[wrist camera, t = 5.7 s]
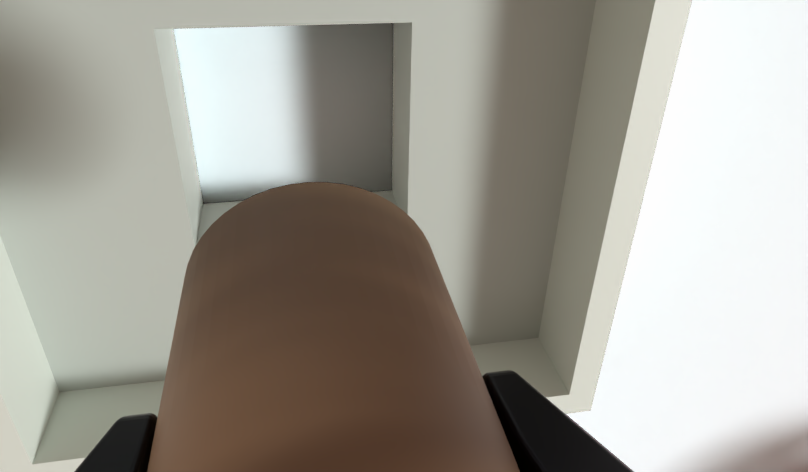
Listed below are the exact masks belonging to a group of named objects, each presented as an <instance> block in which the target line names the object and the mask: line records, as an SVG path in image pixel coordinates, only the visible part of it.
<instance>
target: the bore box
mask: <svg viewBox="0 0 808 472" xmlns="http://www.w3.org/2000/svg"><path fill="white" fill-rule="evenodd" d="M691 2H692V0H0V472H74V471H75V470H76V469H77V468H78V466H79V465H80V464H81V463H82V462H83V460H84V459H85V458H86V457H87V455H88V454H89V453H90V452H91V451H92V449H93V448H94V447H95V446H96V445H97V443H98V442H99V441H100V440H101V438H102V437H103V436H104V435H105V434H106V432H107V431H108V430H109V429H110V427H111V426H112V425H113V424H114V423H115V422H116V421H117V420H118V419H119V418H121V417H123V416H129V415H137V414H146V413H153V414H155V415H156V416H157V417H158V412H159V407H160V402H161V397H162V392H163V386H164V381H165V376H166V371H167V366H168V361H169V355H170V350H171V345H172V340H173V335H174V329H175V324H176V319H177V314H178V309H179V303H180V298H181V293H182V288H183V283H184V278H185V273H186V269H187V264H188V262H189V259H190V257H191V254H192V252H193V250H194V248H195V246H196V245H197V243H198V241H199V240H200V238H201V237H202V235H203V234H204V233H205V232H206V231H207V229H208V228H209V227H210V226H211V225H212V224H213V223H214V222H215V221H216V220H217V219H218V218H219V217H220V216H221V215H223V214H224V213H225V212H227V211H228V210H229V209H231V208H232V207H234V206H235V205H237V204H238V203H240V202H242V201H234V202H220V203H206V204H203V199H202V193H201V187H200V181H199V175H198V170H197V164H196V158H195V152H194V146H193V140H192V135H191V129H190V123H189V117H188V111H187V106H186V100H185V94H184V88H183V82H182V76H181V71H180V65H179V59H178V53H177V47H176V42H175V36H174V30H173V29H179V28H217V27H256V26H294V25H332V24H370V23H393V134H392V190H391V191H377V192H372V193H375V194H377V195H379V196H381V197H383V198H385V199H387V200H389V201H391V202H392V203H393V204H395V205H396V206H398V207H399V208H400V209H402V210H403V211H404V212H405V213H406V214H407V215H409V216H410V217H411V218H412V219H413V220H414V221H415V223H416V224H417V225H418V226H419V228H420V229H421V230H422V232H423V233H424V235H425V237H426V239H427V240H428V242H429V244H430V247H431V249H432V252H433V254H434V257H435V259H436V262H437V264H438V267H439V269H440V272H441V274H442V277H443V279H444V282H445V284H446V287H447V289H448V292H449V294H450V297H451V299H452V302H453V304H454V307H455V309H456V312H457V314H458V317H459V319H460V322H461V324H462V327H463V329H464V332H465V334H466V337H467V340H468V342H469V345H470V347H471V350H472V352H473V355H474V357H475V360H476V362H477V365H478V367H479V370H480V372H481V375H482V376H483V375H484V374H485V373H488V372H496V371H505V370H512V371H514V372H516V373H518V374H519V375H520V376H521V377H522V378H524V379H525V380H526V381H527V382H528V383H529V384H531V385H532V386H533V387H534V388H535V389H537V390H538V391H539V392H540V393H541V394H543V395H544V396H545V397H546V398H547V399H548V400H550V401H551V402H552V403H553V404H554V405H556V406H557V407H558V408H559V409H560V410H561V411H563V412H564V413H565V414H568V413H575V412H583V411H590V410H591V406H592V402H593V398H594V394H595V390H596V386H597V382H598V378H599V374H600V370H601V366H602V362H603V358H604V354H605V350H606V346H607V342H608V338H609V334H610V330H611V326H612V322H613V318H614V314H615V309H616V305H617V301H618V297H619V293H620V289H621V285H622V281H623V277H624V273H625V269H626V265H627V261H628V257H629V253H630V249H631V245H632V241H633V237H634V233H635V229H636V225H637V221H638V217H639V213H640V208H641V204H642V200H643V196H644V192H645V188H646V184H647V180H648V176H649V172H650V168H651V164H652V160H653V156H654V152H655V148H656V144H657V140H658V136H659V132H660V128H661V124H662V120H663V116H664V111H665V107H666V103H667V99H668V95H669V91H670V87H671V83H672V79H673V75H674V71H675V67H676V63H677V59H678V55H679V51H680V47H681V43H682V39H683V35H684V31H685V27H686V23H687V19H688V15H689V10H690V6H691Z"/></svg>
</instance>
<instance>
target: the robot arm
mask: <svg viewBox="0 0 808 472" xmlns="http://www.w3.org/2000/svg"><path fill="white" fill-rule="evenodd" d="M482 377H483V380H484V382H485V385H486V387H487V390H488V392H489V395H490V397H491V400H492V402H493V405H494V407H495V410H496V412H497V415H498V417H499V420H500V422H501V425H502V427H503V430H504V432H505V435H506V437H507V440H508V443H509V445H510V448H511V450H512V453H513V455H514V458H515V460H516V463H517V465H518V468H519V470H520V472H634V471H632V470H631V469H630V468H629V467H628V466H626V465H625V464H624V463H623V462H622V461H621V460H619V459H618V458H617V457H616V456H615V455H613V454H612V453H611V452H610V451H609V450H608V449H606V448H605V447H604V446H603V445H602V444H600V443H599V442H598V441H597V440H596V439H595V438H593V437H592V436H591V435H590V434H589V433H587V432H586V431H585V430H584V429H583V428H582V427H580V426H579V425H578V424H577V423H576V422H574V421H573V420H572V419H571V418H570V417H569V416H567V415H566V414H565V413H564V412H563V411H561V410H560V409H559V408H558V407H557V406H556V405H554V404H553V403H552V402H551V401H550V400H548V399H547V398H546V397H545V396H544V395H543V394H541V393H540V392H539V391H538V390H537V389H535V388H534V387H533V386H532V385H531V384H529V383H528V382H527V381H526V380H525V379H524V378H522V377H521V376H520V375H519V374H518V373H516V372H514V371H512V370H505V371H496V372H488V373H485V374H484V375H483V376H482ZM157 418H158V417H157V416H156V415H155V414H153V413H146V414H137V415H129V416H123V417H121V418H119V419H118V420H117V421H116V422H115V423H114V424H113V425H112V426H111V427H110V429H109V430H108V431H107V432H106V434H105V435H104V436H103V437H102V438H101V440H100V441H99V442H98V443H97V445H96V446H95V447H94V448H93V449H92V451H91V452H90V453H89V454H88V455H87V457H86V458H85V459H84V460H83V462H82V463H81V464H80V465H79V466H78V468H77V469H76V470H75V471H74V472H147V470H148V464H149V459H150V454H151V449H152V444H153V438H154V433H155V428H156V423H157Z"/></svg>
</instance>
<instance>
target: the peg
mask: <svg viewBox="0 0 808 472" xmlns="http://www.w3.org/2000/svg"><path fill="white" fill-rule="evenodd" d="M147 472H520V470H519V468H518V465H517V463H516V460H515V458H514V455H513V453H512V450H511V448H510V445H509V443H508V440H507V437H506V435H505V432H504V430H503V427H502V425H501V422H500V420H499V417H498V415H497V412H496V410H495V407H494V405H493V402H492V400H491V397H490V395H489V392H488V390H487V387H486V385H485V382H484V380H483V377H482V375H481V372H480V370H479V367H478V365H477V362H476V360H475V357H474V355H473V352H472V350H471V347H470V345H469V342H468V340H467V337H466V334H465V332H464V329H463V327H462V324H461V322H460V319H459V317H458V314H457V312H456V309H455V307H454V304H453V302H452V299H451V297H450V294H449V292H448V289H447V287H446V284H445V282H444V279H443V277H442V274H441V272H440V269H439V267H438V264H437V262H436V259H435V257H434V254H433V252H432V249H431V247H430V244H429V242H428V240H427V239H426V237H425V235H424V233H423V232H422V230H421V229H420V228H419V226H418V225H417V224H416V223H415V221H414V220H413V219H412V218H411V217H410V216H409V215H407V214H406V213H405V212H404V211H403V210H402V209H400V208H399V207H398V206H396V205H395V204H393V203H392V202H391V201H389V200H387V199H385V198H383V197H381V196H379V195H377V194H375V193H372V192H369V191H367V190H364V189H361V188H358V187H353V186H349V185H345V184H337V183H328V182H306V183H298V184H290V185H285V186H281V187H277V188H273V189H269V190H267V191H264V192H261V193H259V194H256V195H254V196H252V197H250V198H248V199H246V200H244V201H242V202H240V203H238V204H237V205H235V206H234V207H232V208H231V209H229V210H228V211H227V212H225V213H224V214H223V215H221V216H220V217H219V218H218V219H217V220H216V221H215V222H214V223H213V224H212V225H211V226H210V227H209V228H208V229H207V231H206V232H205V233H204V234H203V235H202V237H201V238H200V240H199V241H198V243H197V245H196V246H195V248H194V250H193V252H192V254H191V257H190V259H189V262H188V264H187V269H186V273H185V278H184V283H183V288H182V293H181V298H180V303H179V309H178V314H177V319H176V324H175V329H174V335H173V340H172V345H171V350H170V355H169V361H168V366H167V371H166V376H165V381H164V386H163V392H162V397H161V402H160V407H159V412H158V418H157V423H156V428H155V433H154V438H153V444H152V449H151V454H150V459H149V464H148V470H147Z"/></svg>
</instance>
